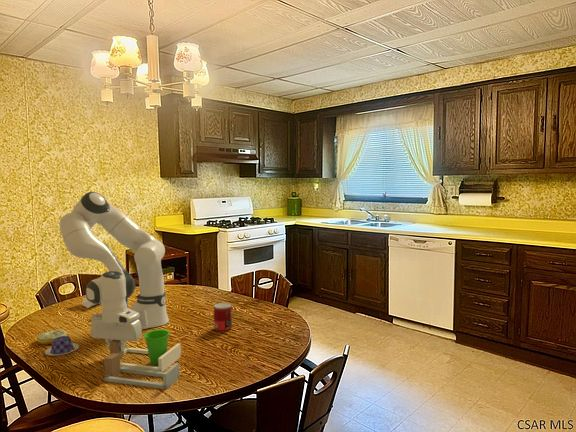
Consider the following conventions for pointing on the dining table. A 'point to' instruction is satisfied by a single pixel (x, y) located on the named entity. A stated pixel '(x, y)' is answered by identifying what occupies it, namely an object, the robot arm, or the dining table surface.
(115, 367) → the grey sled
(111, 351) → the frame
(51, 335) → the decorated donut
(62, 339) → the checkered hat
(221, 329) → the canned food
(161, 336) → the cup
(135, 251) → the robot arm
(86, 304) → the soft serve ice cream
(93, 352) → the dining table surface
